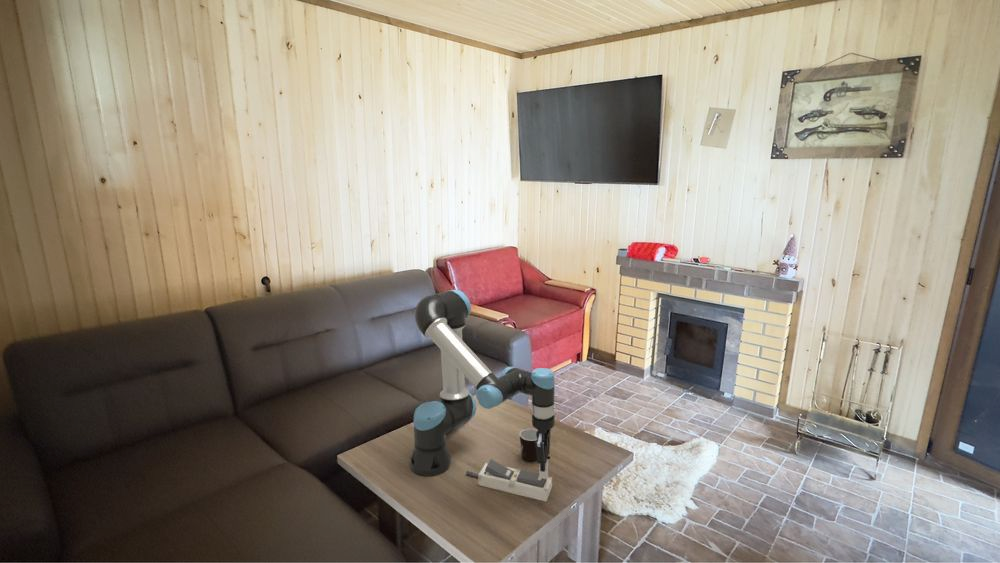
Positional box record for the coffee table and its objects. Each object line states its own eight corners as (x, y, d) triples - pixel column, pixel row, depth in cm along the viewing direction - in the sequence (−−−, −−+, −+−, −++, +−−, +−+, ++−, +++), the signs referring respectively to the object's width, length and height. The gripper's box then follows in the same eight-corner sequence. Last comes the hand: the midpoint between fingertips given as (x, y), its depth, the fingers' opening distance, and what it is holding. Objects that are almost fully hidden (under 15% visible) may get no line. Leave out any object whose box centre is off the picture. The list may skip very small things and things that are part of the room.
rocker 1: (484, 470, 167) (486, 466, 166) (489, 463, 171) (491, 458, 171) (507, 483, 165) (509, 478, 164) (511, 475, 169) (513, 470, 169)
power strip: (462, 481, 169) (462, 469, 168) (471, 468, 177) (471, 456, 176) (546, 501, 159) (546, 489, 158) (552, 487, 167) (552, 475, 165)
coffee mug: (539, 465, 179) (540, 441, 177) (517, 462, 181) (517, 439, 178) (543, 448, 190) (543, 426, 188) (522, 445, 192) (522, 423, 189)
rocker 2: (517, 482, 164) (517, 476, 163) (521, 474, 168) (521, 469, 167) (542, 487, 161) (542, 481, 160) (545, 479, 165) (545, 474, 164)
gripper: (549, 425, 150) (549, 491, 155) (558, 407, 162) (558, 468, 167) (526, 422, 153) (527, 486, 157) (537, 404, 165) (538, 464, 169)
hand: (543, 477), depth 162 cm, fingers closed
